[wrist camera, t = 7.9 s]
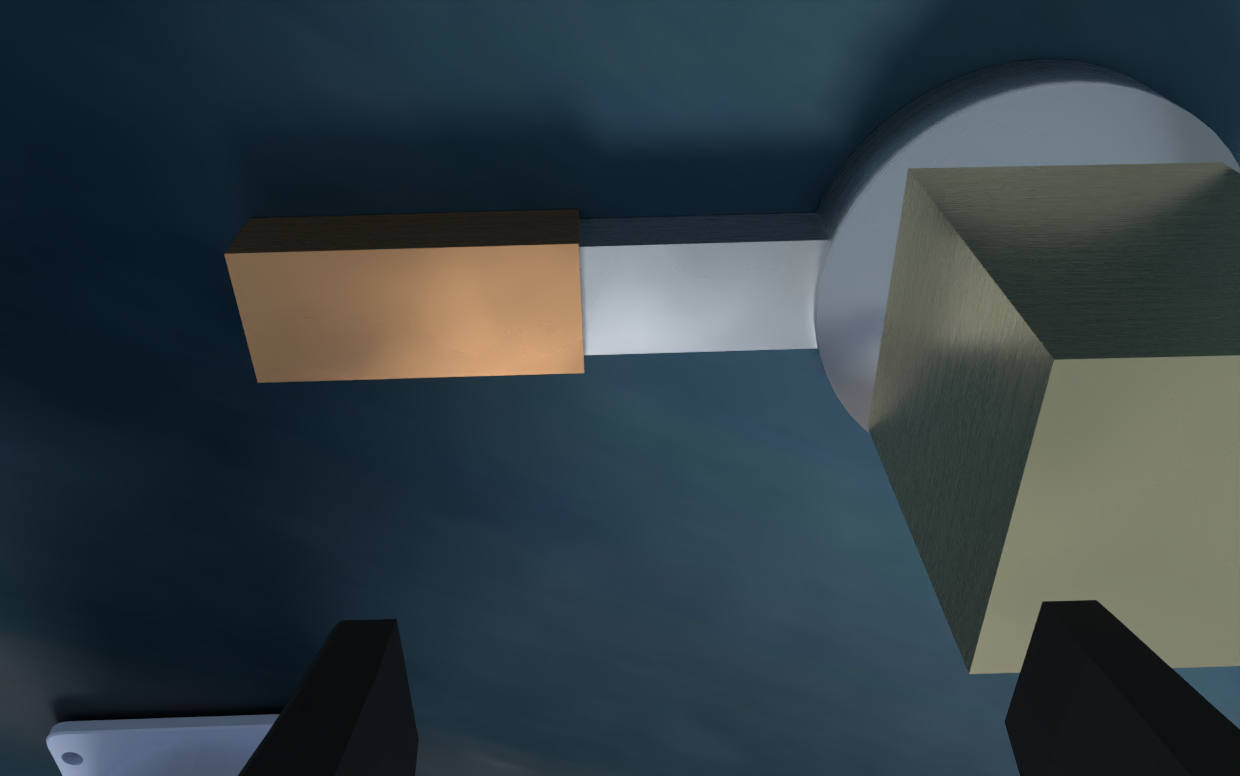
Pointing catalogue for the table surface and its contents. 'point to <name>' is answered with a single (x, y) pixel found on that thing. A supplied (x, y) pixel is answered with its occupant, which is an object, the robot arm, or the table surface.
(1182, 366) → the brushed metal cube
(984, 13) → the table surface
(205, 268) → the table surface
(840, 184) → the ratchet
